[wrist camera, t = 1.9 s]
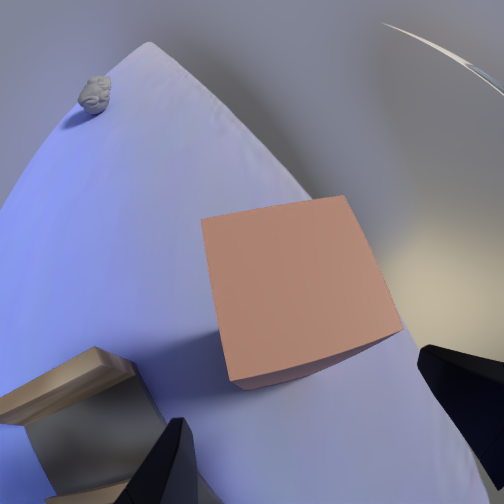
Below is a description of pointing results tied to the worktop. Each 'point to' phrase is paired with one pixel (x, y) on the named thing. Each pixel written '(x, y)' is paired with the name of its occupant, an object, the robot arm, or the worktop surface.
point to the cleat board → (90, 427)
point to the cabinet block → (294, 290)
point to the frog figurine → (95, 94)
